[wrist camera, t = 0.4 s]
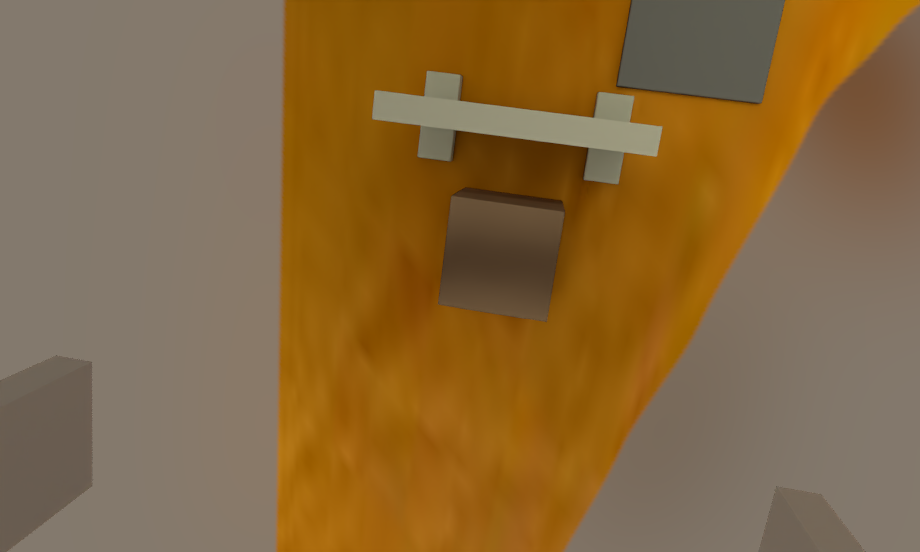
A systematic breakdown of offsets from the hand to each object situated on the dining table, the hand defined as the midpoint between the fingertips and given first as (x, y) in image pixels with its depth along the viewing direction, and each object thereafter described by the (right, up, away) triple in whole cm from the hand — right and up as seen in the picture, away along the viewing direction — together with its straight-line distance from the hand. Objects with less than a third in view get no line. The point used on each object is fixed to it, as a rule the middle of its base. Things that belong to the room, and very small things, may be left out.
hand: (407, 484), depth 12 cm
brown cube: (+4, +6, +28) cm, 29 cm away
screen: (+5, +13, +26) cm, 29 cm away
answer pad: (+14, +18, +24) cm, 33 cm away
